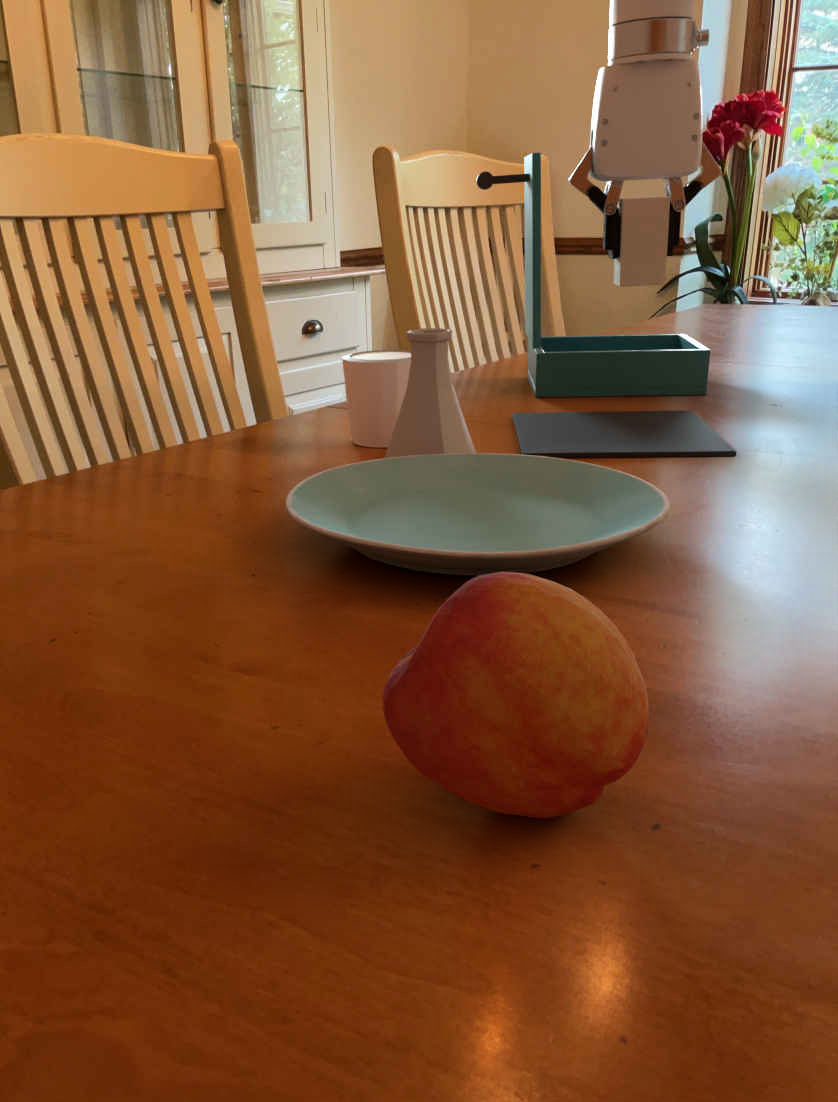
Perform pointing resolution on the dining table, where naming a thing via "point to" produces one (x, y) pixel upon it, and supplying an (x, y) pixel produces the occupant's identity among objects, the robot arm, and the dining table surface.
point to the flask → (429, 402)
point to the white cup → (375, 393)
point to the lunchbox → (618, 366)
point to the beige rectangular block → (642, 241)
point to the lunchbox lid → (527, 238)
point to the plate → (476, 510)
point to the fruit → (519, 698)
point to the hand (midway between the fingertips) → (640, 254)
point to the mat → (618, 434)
